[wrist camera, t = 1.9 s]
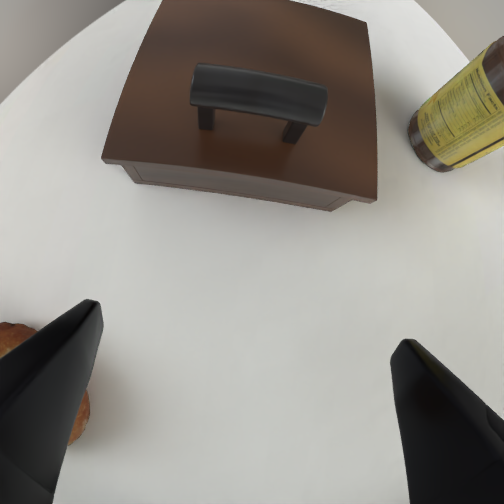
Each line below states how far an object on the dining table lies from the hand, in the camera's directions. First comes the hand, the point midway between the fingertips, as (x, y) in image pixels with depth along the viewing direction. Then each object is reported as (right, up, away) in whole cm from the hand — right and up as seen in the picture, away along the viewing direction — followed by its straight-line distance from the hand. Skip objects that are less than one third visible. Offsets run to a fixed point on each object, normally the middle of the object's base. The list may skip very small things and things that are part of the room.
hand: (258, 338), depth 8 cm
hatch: (0, +12, +7) cm, 14 cm away
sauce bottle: (+16, +12, +15) cm, 25 cm away
